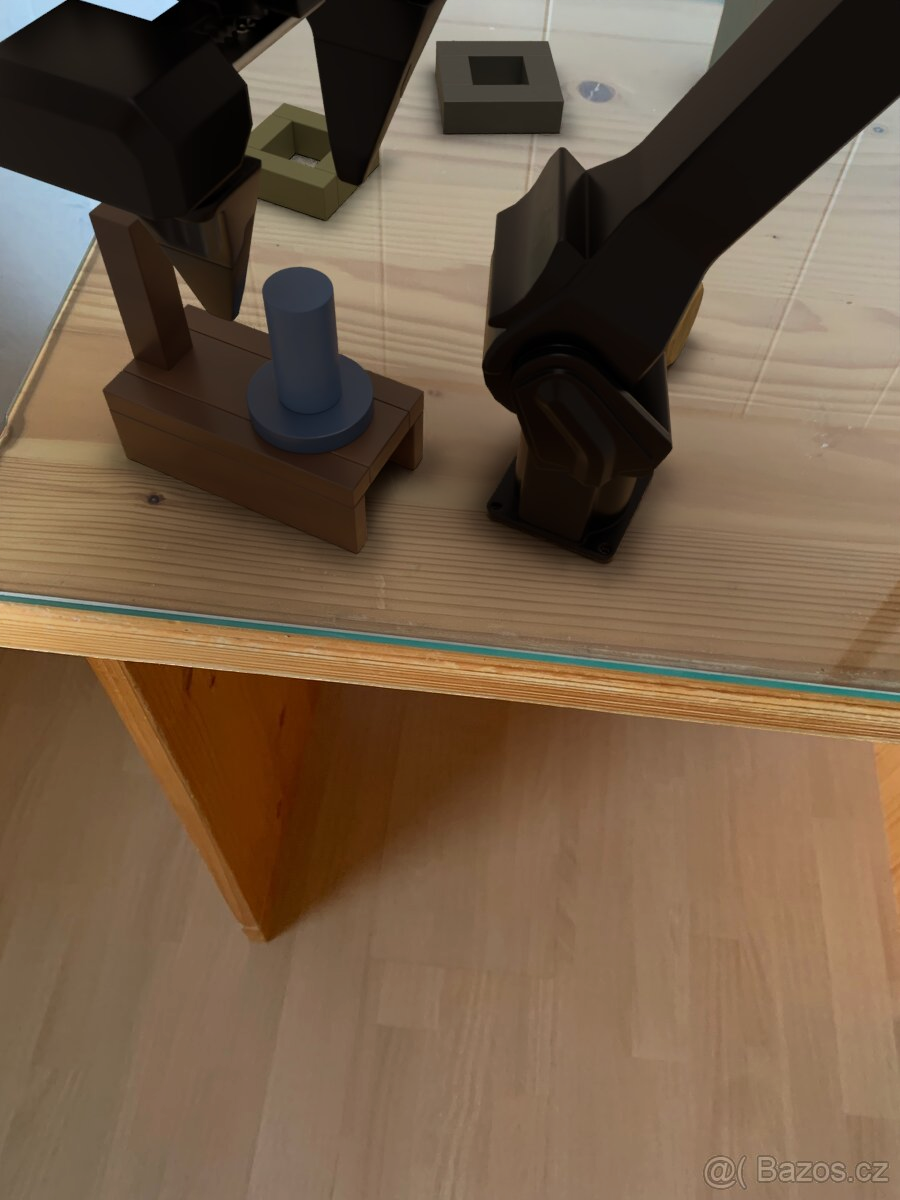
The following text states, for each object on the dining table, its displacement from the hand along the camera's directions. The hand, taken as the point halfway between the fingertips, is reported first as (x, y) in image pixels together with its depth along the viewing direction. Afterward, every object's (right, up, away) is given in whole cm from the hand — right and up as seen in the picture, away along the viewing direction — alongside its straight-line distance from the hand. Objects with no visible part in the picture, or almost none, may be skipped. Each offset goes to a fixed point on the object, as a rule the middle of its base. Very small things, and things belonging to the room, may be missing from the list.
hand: (291, 244), depth 35 cm
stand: (-3, -6, +11) cm, 13 cm away
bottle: (+27, +22, +32) cm, 47 cm away
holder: (+9, +22, +31) cm, 39 cm away
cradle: (-3, +14, +25) cm, 28 cm away
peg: (0, -7, +10) cm, 12 cm away
